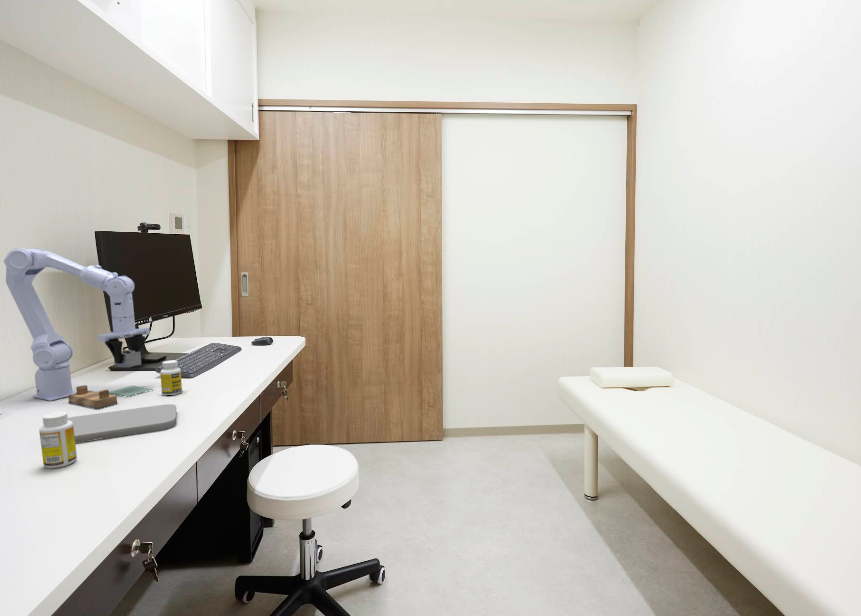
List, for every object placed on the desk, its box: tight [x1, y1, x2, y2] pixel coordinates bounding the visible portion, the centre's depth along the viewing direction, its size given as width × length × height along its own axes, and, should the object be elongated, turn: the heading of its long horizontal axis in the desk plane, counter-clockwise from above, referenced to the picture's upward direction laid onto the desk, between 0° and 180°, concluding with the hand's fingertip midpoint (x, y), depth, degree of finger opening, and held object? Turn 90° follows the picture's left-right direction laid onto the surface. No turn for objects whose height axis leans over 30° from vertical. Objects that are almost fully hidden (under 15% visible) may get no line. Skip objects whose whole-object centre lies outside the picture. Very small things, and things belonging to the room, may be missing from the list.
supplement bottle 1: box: [39, 411, 78, 469], centre depth 103 cm, size 6×6×10 cm
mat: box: [109, 385, 153, 398], centre depth 156 cm, size 10×8×1 cm
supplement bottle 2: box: [160, 359, 183, 396], centre depth 152 cm, size 5×5×10 cm
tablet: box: [68, 403, 177, 444], centre depth 124 cm, size 16×26×2 cm, turn 116°
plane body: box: [68, 384, 119, 410], centre depth 144 cm, size 14×6×4 cm, turn 62°
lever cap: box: [113, 349, 142, 368], centre depth 154 cm, size 6×4×5 cm
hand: (127, 361), depth 155 cm, fingers closed on lever cap, 4 cm apart
